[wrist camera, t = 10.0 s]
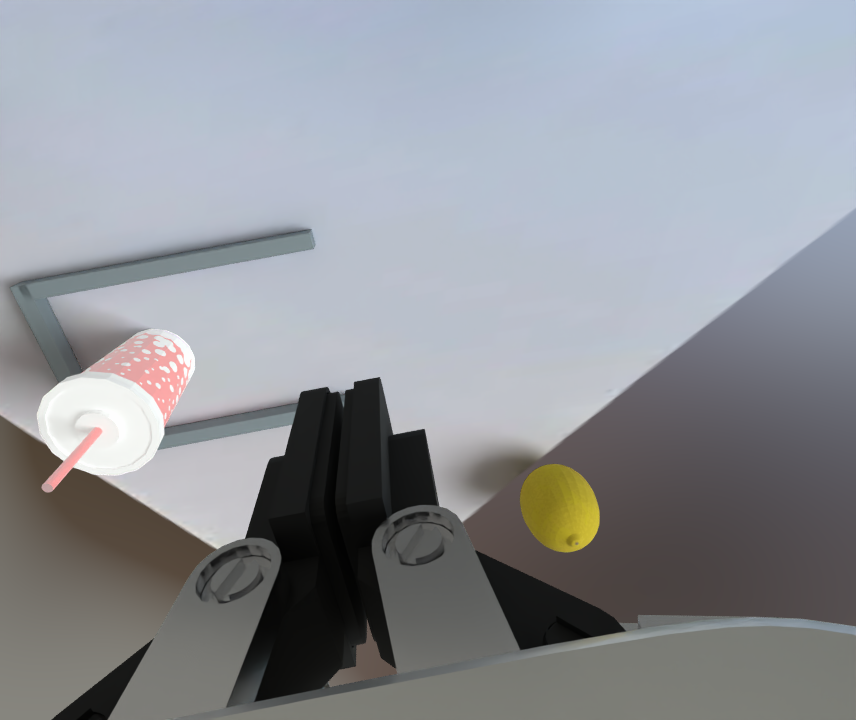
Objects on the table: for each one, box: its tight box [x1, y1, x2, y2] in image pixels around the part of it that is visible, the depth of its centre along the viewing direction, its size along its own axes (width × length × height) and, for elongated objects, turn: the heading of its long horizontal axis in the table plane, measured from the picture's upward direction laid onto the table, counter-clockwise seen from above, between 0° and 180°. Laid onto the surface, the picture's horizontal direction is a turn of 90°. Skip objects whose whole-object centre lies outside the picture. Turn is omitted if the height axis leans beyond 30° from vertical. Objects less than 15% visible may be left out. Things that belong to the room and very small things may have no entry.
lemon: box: [520, 464, 599, 552], centre depth 40 cm, size 6×6×8 cm
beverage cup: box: [37, 329, 195, 492], centre depth 30 cm, size 6×6×14 cm
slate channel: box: [10, 230, 345, 450], centre depth 36 cm, size 18×13×1 cm
